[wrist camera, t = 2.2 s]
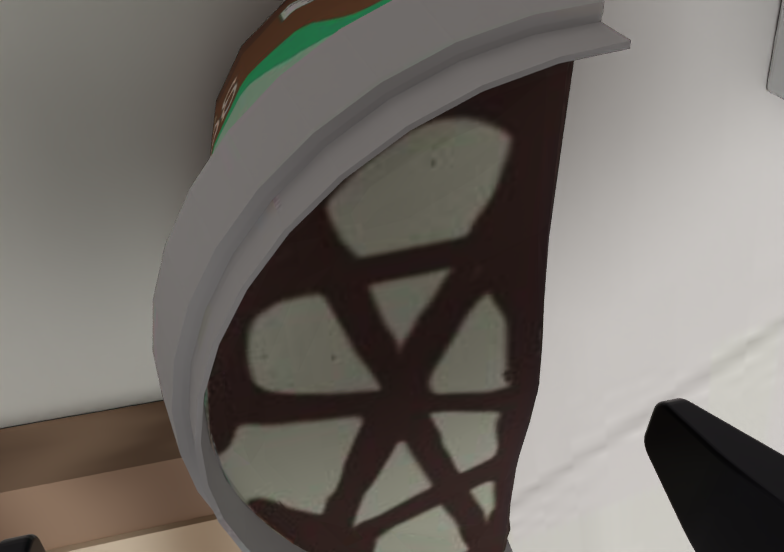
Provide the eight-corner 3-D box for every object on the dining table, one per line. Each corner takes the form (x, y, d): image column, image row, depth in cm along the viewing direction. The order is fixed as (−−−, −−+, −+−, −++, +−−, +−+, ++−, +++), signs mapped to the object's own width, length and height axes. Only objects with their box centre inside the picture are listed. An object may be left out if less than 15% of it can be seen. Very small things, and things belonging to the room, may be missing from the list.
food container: (99, -96, 13) (-14, 49, 5) (391, -113, 14) (642, -13, 7) (212, 351, 21) (232, 687, 13) (400, 315, 22) (525, 603, 14)
